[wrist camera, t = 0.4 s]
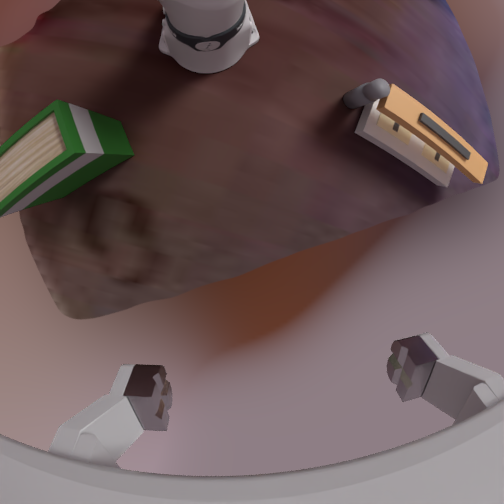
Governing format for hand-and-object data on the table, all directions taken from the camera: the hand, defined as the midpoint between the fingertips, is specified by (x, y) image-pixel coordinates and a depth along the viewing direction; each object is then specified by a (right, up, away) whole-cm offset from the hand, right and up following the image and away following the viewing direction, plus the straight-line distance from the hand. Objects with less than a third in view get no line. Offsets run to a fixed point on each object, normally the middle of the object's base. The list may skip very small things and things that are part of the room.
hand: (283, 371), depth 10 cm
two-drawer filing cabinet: (+30, +29, +43) cm, 60 cm away
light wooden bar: (+33, +26, +36) cm, 55 cm away
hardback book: (-32, +22, +40) cm, 56 cm away
